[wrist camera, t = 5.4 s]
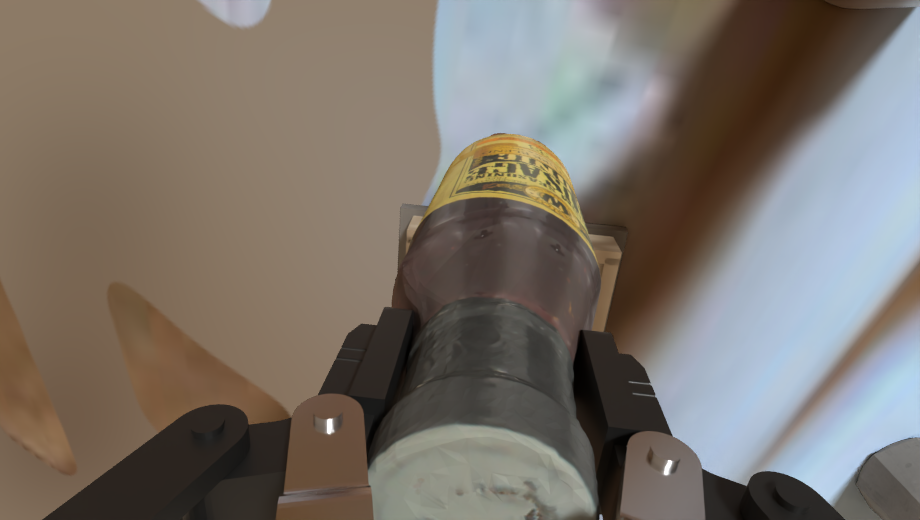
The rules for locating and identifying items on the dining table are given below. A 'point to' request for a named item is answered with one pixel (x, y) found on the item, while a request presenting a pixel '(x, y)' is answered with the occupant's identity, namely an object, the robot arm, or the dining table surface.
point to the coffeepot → (893, 481)
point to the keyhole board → (603, 237)
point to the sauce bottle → (492, 347)
